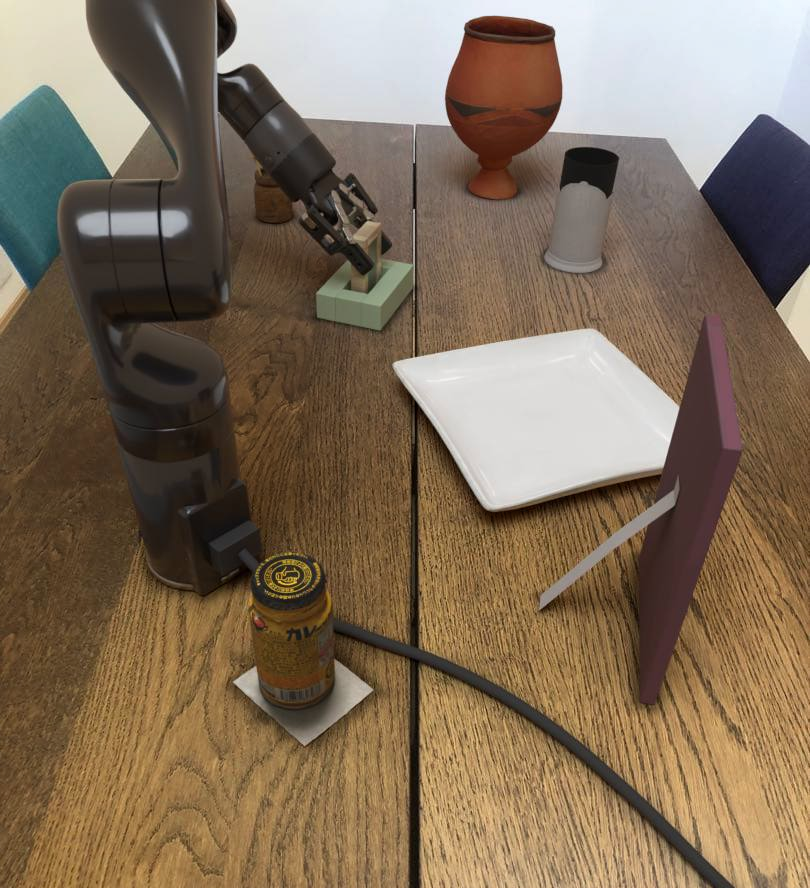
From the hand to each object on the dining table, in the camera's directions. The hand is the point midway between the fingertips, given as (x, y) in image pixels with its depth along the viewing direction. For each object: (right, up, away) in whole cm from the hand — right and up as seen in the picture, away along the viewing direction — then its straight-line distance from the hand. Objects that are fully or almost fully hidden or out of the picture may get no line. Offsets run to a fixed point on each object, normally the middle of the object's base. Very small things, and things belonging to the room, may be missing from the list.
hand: (378, 260), depth 107 cm
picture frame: (+20, -44, -36) cm, 60 cm away
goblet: (+19, +24, +36) cm, 48 cm away
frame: (-2, -4, +5) cm, 7 cm away
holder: (-2, -4, +5) cm, 6 cm away
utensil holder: (-18, +15, +25) cm, 34 cm away
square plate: (+19, -25, -16) cm, 35 cm away
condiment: (-5, -48, -42) cm, 64 cm away
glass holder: (+30, +7, +19) cm, 36 cm away
